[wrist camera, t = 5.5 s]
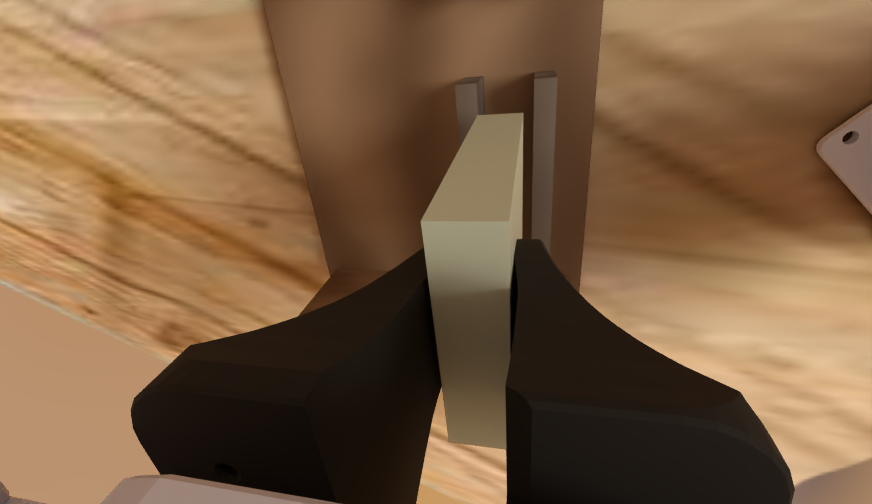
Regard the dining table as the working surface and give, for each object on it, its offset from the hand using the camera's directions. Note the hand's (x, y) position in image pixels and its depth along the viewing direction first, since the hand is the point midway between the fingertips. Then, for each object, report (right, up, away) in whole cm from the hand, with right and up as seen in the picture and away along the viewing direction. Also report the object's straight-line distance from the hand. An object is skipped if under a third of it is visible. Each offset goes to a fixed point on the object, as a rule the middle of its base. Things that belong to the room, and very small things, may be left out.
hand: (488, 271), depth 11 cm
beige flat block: (+1, +3, +4) cm, 5 cm away
